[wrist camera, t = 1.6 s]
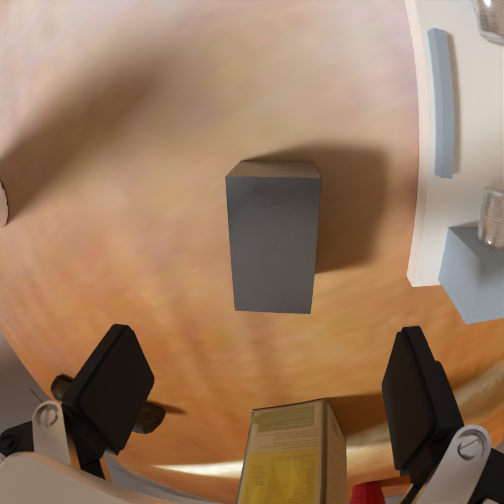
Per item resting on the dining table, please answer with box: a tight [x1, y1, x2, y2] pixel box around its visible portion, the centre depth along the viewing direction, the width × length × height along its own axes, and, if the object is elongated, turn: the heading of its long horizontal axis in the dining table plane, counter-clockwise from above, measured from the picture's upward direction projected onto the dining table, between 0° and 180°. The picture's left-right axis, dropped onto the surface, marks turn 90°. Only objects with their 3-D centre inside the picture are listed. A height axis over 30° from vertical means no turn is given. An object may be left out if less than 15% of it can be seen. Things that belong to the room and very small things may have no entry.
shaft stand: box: [405, 0, 504, 324], centre depth 10 cm, size 25×9×6 cm, turn 6°
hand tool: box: [51, 375, 166, 434], centre depth 33 cm, size 19×4×5 cm, turn 91°
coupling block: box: [225, 161, 321, 314], centre depth 17 cm, size 8×4×4 cm, turn 2°
